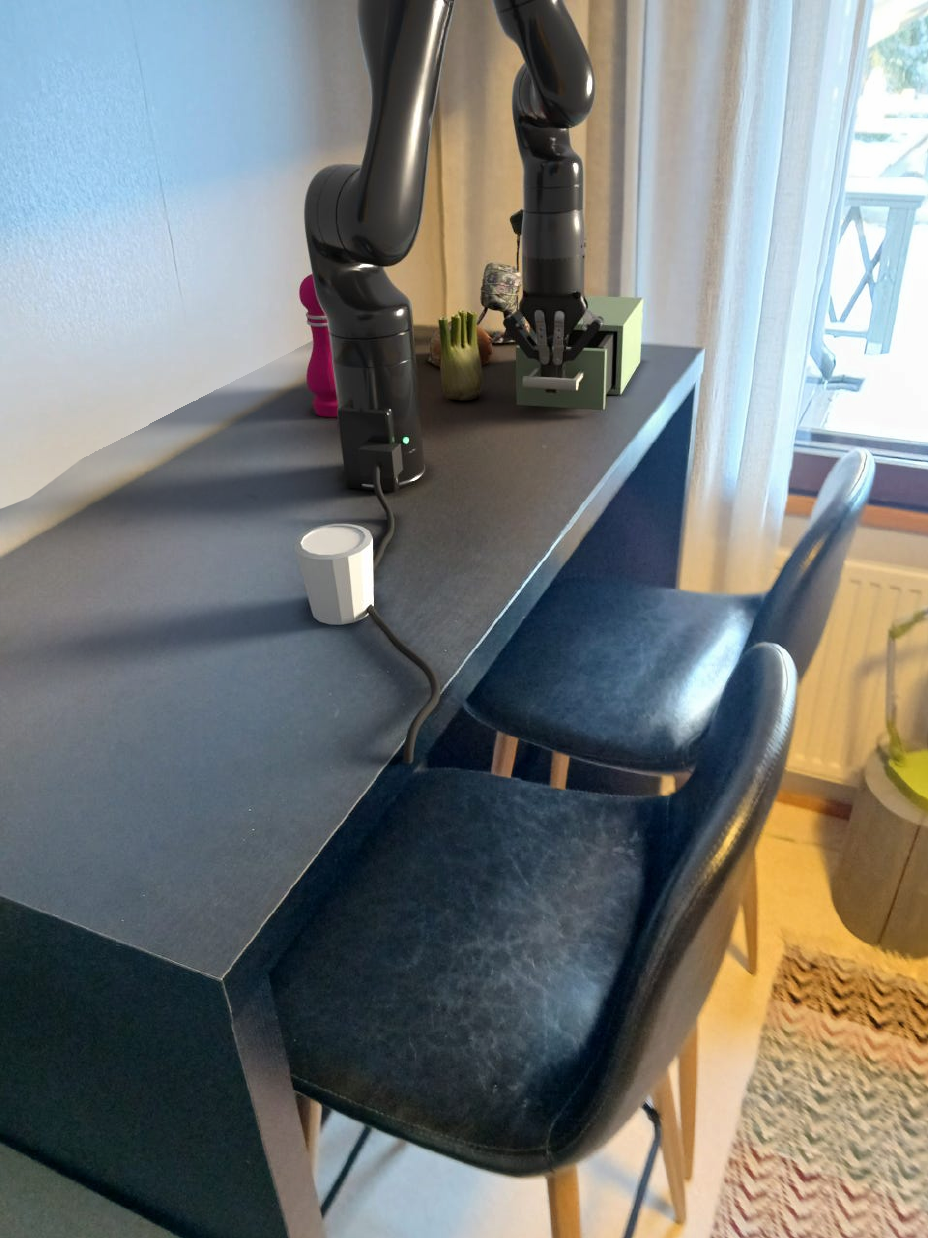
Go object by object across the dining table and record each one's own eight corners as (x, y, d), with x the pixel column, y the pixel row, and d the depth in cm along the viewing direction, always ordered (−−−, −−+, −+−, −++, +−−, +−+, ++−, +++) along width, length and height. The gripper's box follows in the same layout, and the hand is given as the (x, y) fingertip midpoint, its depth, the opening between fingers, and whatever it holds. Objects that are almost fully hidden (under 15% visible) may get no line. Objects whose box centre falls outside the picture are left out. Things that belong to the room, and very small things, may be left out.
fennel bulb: (442, 405, 131) (437, 317, 124) (442, 393, 135) (436, 308, 128) (484, 402, 131) (480, 315, 124) (482, 391, 135) (478, 306, 128)
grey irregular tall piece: (486, 330, 162) (481, 206, 152) (548, 334, 158) (548, 206, 148) (469, 343, 156) (463, 214, 145) (533, 347, 152) (532, 215, 141)
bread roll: (434, 376, 153) (411, 334, 148) (487, 342, 153) (465, 299, 148) (452, 394, 145) (427, 351, 140) (507, 358, 145) (485, 313, 140)
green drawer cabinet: (620, 395, 130) (623, 325, 125) (530, 389, 134) (529, 322, 129) (640, 362, 143) (643, 297, 138) (556, 357, 147) (556, 294, 141)
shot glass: (343, 582, 89) (334, 515, 85) (395, 603, 85) (388, 534, 82) (289, 613, 85) (277, 544, 81) (342, 636, 81) (331, 566, 77)
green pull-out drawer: (594, 425, 118) (596, 364, 114) (504, 418, 122) (503, 359, 118) (624, 376, 134) (626, 321, 130) (543, 372, 138) (543, 318, 134)
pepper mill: (359, 417, 128) (342, 264, 117) (307, 419, 128) (285, 267, 118) (365, 400, 134) (349, 253, 123) (315, 402, 134) (295, 255, 124)
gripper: (490, 255, 110) (495, 397, 120) (601, 256, 106) (597, 403, 116) (508, 242, 116) (512, 379, 126) (614, 243, 112) (609, 384, 122)
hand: (553, 390), depth 121 cm, fingers closed
